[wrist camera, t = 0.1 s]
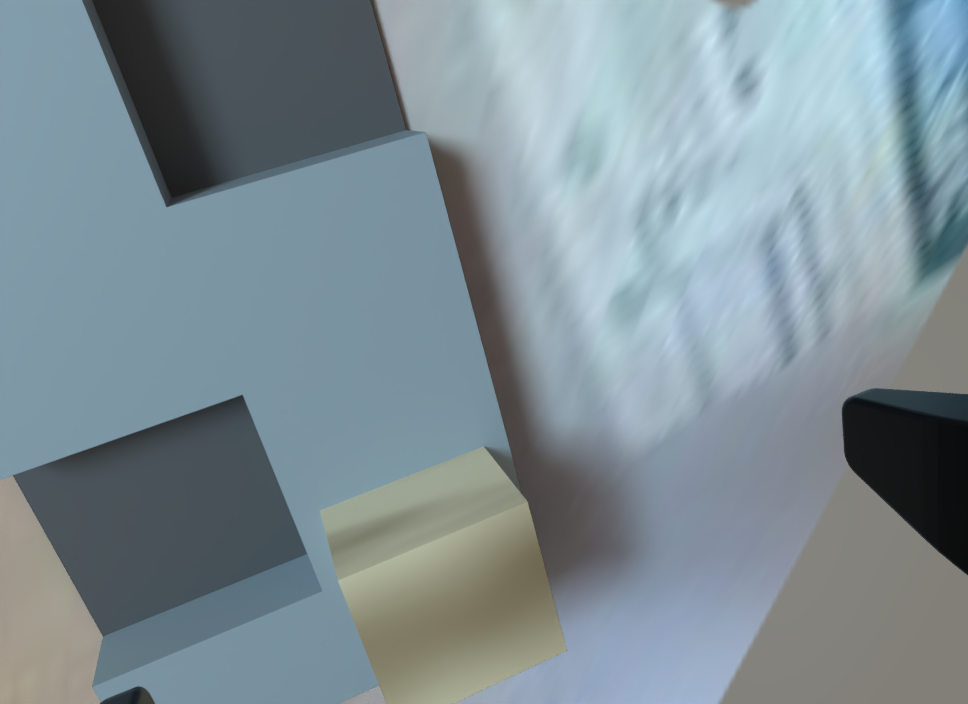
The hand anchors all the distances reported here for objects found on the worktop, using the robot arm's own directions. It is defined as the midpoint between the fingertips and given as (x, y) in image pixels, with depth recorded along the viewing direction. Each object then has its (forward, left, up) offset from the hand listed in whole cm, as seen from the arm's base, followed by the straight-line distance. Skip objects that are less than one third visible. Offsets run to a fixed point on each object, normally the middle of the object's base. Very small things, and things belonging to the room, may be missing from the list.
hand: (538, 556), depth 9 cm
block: (-8, 0, -12) cm, 14 cm away
